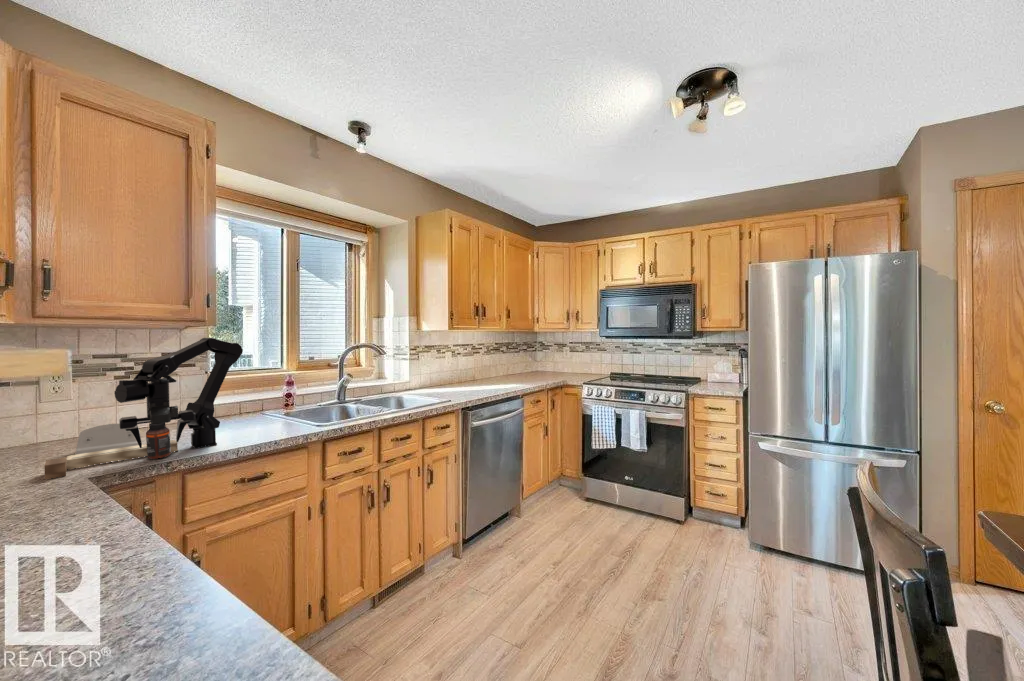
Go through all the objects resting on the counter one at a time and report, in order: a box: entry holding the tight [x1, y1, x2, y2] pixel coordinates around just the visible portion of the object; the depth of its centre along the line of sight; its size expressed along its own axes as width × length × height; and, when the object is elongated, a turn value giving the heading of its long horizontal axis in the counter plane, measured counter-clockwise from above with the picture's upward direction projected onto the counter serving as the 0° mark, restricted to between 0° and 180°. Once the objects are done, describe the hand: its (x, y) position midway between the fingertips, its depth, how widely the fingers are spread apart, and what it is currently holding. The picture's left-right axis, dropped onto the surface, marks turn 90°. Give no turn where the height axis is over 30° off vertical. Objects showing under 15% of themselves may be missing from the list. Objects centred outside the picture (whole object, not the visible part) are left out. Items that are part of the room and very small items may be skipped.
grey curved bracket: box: [75, 423, 143, 455], centre depth 146 cm, size 17×5×10 cm, turn 128°
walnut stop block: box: [43, 456, 68, 480], centre depth 120 cm, size 4×7×4 cm, turn 45°
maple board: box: [66, 439, 178, 470], centre depth 136 cm, size 26×6×3 cm, turn 135°
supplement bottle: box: [145, 422, 172, 460], centre depth 137 cm, size 6×6×11 cm
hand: (159, 444), depth 137 cm, fingers open, 9 cm apart
